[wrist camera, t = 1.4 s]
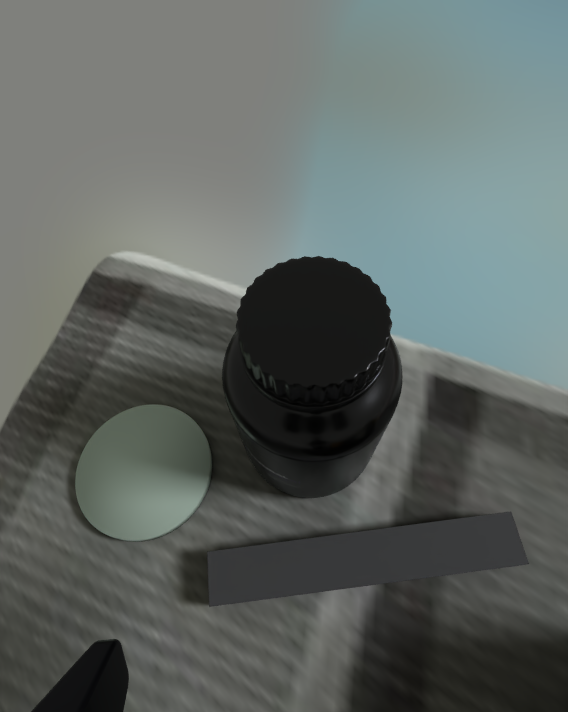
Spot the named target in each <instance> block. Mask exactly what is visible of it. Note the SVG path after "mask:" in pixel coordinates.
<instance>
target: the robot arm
mask: <svg viewBox="0 0 568 712" xmlns="http://www.w3.org/2000/svg"><path fill="white" fill-rule="evenodd" d="M128 682H129V674H128V668H127V665H126V661H125V657H124V653H123V649H122V646H121V643H120V641H119V640H117V639H110V640H100V641H97V642H95V643H94V644H92V645H91V646H90V647H89V649H88V650H87V651H86V652H85V653H84V654H83V655H82V656H81V657H80V659H79V660H78V661H77V662H76V663H75V664H74V665H73V666H72V667H71V668H70V670H69V671H68V672H67V673H66V674H65V675H64V676H63V677H62V678H61V679H60V681H59V682H58V683H57V684H56V685H55V686H54V687H53V688H52V689H51V690H50V692H49V693H48V694H47V695H46V696H45V697H44V698H43V699H42V700H41V701H40V703H39V704H38V705H37V706H36V707H35V708H34V709H33V710H32V711H31V712H123V710H124V705H125V700H126V694H127V689H128Z"/></svg>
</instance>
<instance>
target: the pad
mask: <svg viewBox="0 0 568 712" xmlns="http://www.w3.org/2000/svg"><path fill="white" fill-rule="evenodd" d="M212 463H213V462H212V453H211V449H210V445H209V443H208V440H207V438H206V436H205V435H204V433H203V431H202V430H201V428H200V427H199V426H198V424H197V423H196V422H195V421H194V420H193V419H192V418H191V417H190V416H188V415H187V414H185V413H184V412H182V411H180V410H178V409H176V408H173V407H170V406H165V405H157V404H151V405H142V406H137V407H133V408H130V409H127V410H125V411H123V412H121V413H119V414H117V415H115V416H114V417H112V418H111V419H109V420H108V421H107V422H105V423H104V424H103V425H102V426H101V427H100V428H99V429H98V430H97V431H96V432H95V433H94V434H93V436H92V437H91V438H90V440H89V441H88V443H87V444H86V446H85V448H84V450H83V452H82V454H81V456H80V459H79V462H78V466H77V471H76V478H75V488H76V496H77V500H78V503H79V506H80V508H81V510H82V512H83V514H84V516H85V517H86V518H87V520H88V521H89V522H90V523H91V524H92V525H93V526H94V527H95V528H96V529H98V530H99V531H101V532H102V533H104V534H106V535H108V536H111V537H113V538H117V539H121V540H125V541H133V542H138V541H148V540H153V539H156V538H159V537H162V536H164V535H166V534H168V533H171V532H172V531H174V530H175V529H177V528H179V527H180V526H181V525H182V524H184V523H185V522H186V521H187V520H188V519H189V518H190V517H191V516H192V515H193V514H194V513H195V511H196V510H197V509H198V507H199V506H200V504H201V503H202V501H203V499H204V497H205V495H206V493H207V490H208V488H209V484H210V481H211V476H212Z"/></svg>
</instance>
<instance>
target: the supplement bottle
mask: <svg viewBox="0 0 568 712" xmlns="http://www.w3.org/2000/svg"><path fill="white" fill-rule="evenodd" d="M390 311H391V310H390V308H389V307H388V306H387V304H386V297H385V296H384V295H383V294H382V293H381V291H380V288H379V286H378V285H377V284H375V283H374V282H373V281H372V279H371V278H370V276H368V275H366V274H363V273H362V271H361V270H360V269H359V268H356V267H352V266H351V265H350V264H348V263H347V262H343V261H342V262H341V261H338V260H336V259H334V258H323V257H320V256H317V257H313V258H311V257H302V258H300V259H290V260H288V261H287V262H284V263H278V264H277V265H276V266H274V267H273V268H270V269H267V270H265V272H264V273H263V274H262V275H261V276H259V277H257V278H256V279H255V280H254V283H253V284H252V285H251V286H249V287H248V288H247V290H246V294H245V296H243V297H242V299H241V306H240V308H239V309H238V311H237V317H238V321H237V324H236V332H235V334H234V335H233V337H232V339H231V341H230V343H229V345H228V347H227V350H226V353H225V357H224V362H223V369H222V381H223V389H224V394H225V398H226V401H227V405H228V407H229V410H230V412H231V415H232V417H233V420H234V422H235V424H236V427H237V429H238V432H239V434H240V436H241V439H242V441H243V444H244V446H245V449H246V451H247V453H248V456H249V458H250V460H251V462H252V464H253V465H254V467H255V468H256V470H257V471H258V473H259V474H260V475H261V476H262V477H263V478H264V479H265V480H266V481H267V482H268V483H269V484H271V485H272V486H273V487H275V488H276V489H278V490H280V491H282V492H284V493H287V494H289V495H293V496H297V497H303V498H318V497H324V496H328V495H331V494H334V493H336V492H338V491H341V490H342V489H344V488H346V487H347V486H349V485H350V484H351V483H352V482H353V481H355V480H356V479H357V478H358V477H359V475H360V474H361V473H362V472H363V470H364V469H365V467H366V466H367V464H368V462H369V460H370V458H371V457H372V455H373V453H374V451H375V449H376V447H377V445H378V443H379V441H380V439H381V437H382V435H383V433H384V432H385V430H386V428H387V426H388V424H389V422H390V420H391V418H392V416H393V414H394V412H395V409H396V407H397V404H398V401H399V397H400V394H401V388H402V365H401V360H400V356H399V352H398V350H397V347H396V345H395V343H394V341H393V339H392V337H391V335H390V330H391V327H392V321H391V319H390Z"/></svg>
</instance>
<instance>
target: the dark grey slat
mask: <svg viewBox="0 0 568 712" xmlns="http://www.w3.org/2000/svg"><path fill="white" fill-rule="evenodd" d="M207 558H208V587H209V607H211V606H218V605H226V604H233V603H241V602H248V601H256V600H263V599H271V598H278V597H286V596H293V595H301V594H308V593H316V592H323V591H331V590H338V589H346V588H353V587H361V586H368V585H376V584H383V583H391V582H398V581H406V580H413V579H421V578H428V577H436V576H443V575H451V574H458V573H466V572H473V571H481V570H488V569H496V568H503V567H511V566H518V565H526V564H529V563H528V560H527V557H526V554H525V551H524V548H523V545H522V542H521V539H520V536H519V533H518V530H517V527H516V524H515V521H514V519H513V516H512V513H511V512H504V513H496V514H489V515H481V516H474V517H466V518H459V519H451V520H443V521H436V522H428V523H421V524H413V525H406V526H398V527H391V528H383V529H375V530H368V531H360V532H353V533H345V534H338V535H330V536H323V537H315V538H308V539H300V540H292V541H285V542H277V543H270V544H262V545H255V546H247V547H240V548H232V549H224V550H217V551H209V552H207Z"/></svg>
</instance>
